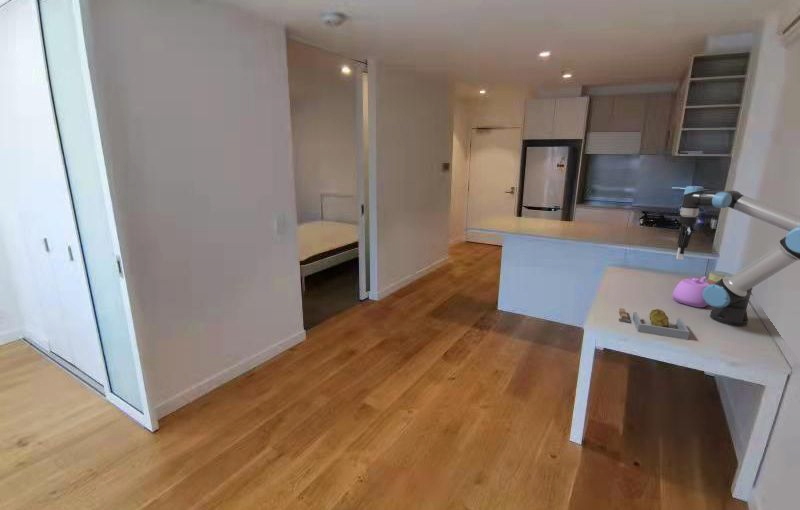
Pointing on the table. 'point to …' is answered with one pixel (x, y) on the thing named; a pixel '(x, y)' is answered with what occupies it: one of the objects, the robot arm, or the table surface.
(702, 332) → the table surface
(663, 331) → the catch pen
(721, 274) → the canned food
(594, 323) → the table surface
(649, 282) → the table surface
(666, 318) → the potato
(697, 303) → the teapot
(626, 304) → the table surface
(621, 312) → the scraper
